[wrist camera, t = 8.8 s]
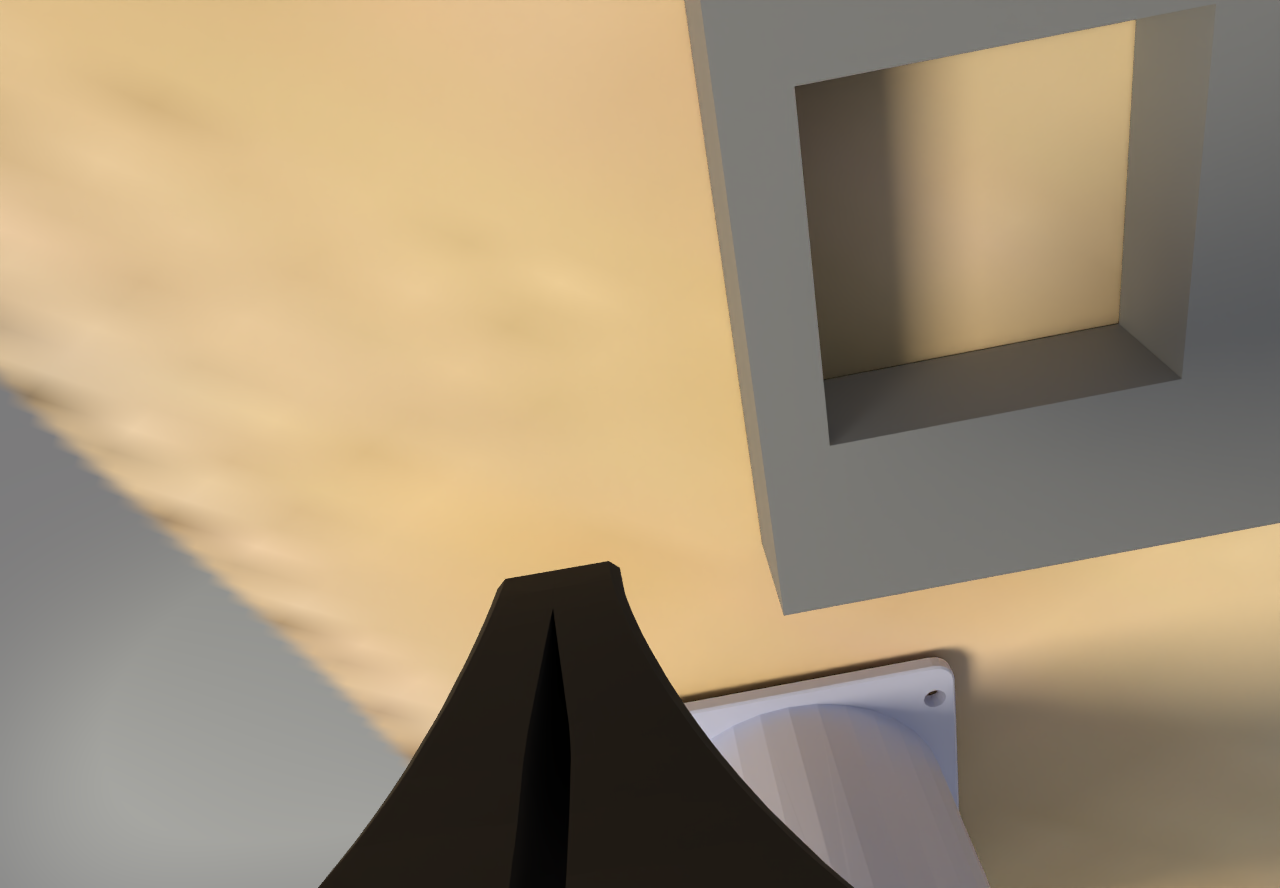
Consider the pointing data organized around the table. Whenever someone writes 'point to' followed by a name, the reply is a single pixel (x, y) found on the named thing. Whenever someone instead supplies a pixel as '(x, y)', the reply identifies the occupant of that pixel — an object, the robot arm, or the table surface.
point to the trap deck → (1022, 372)
